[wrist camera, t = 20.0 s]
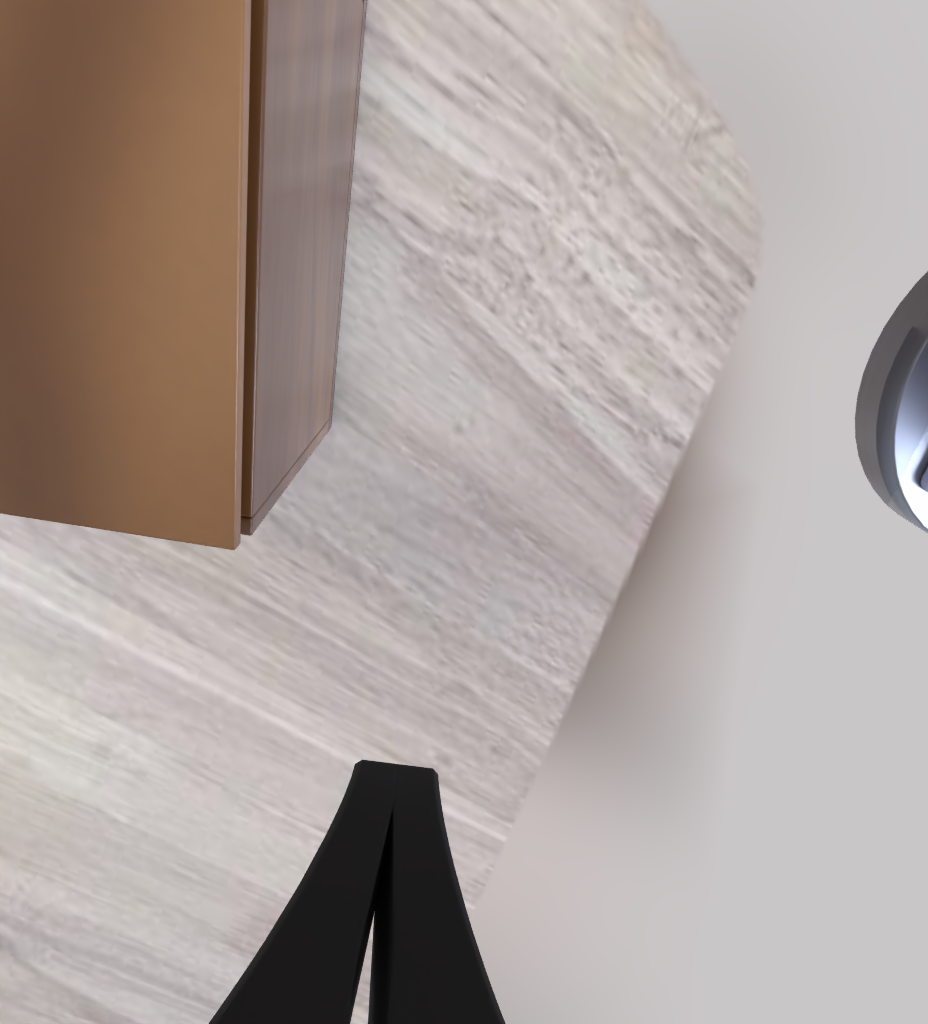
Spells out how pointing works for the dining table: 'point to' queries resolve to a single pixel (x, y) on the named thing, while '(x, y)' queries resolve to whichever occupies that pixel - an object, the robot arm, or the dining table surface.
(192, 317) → the flap
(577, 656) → the dining table surface
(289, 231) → the carton
